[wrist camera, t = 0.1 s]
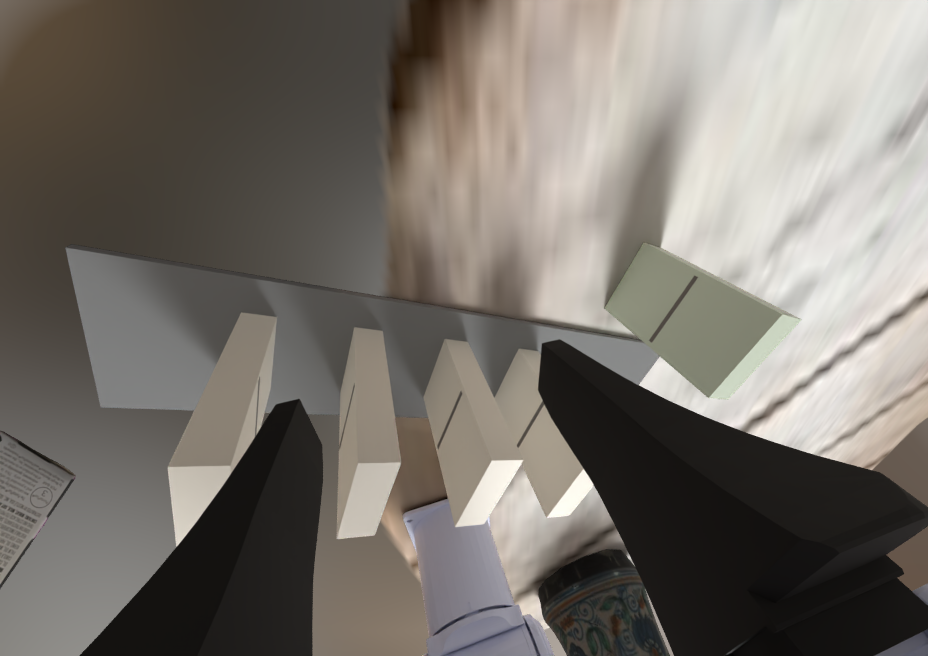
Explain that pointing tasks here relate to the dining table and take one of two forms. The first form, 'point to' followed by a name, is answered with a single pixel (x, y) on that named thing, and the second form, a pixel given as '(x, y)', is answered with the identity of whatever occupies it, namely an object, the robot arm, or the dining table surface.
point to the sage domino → (697, 320)
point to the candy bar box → (25, 498)
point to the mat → (285, 334)
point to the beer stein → (601, 608)
